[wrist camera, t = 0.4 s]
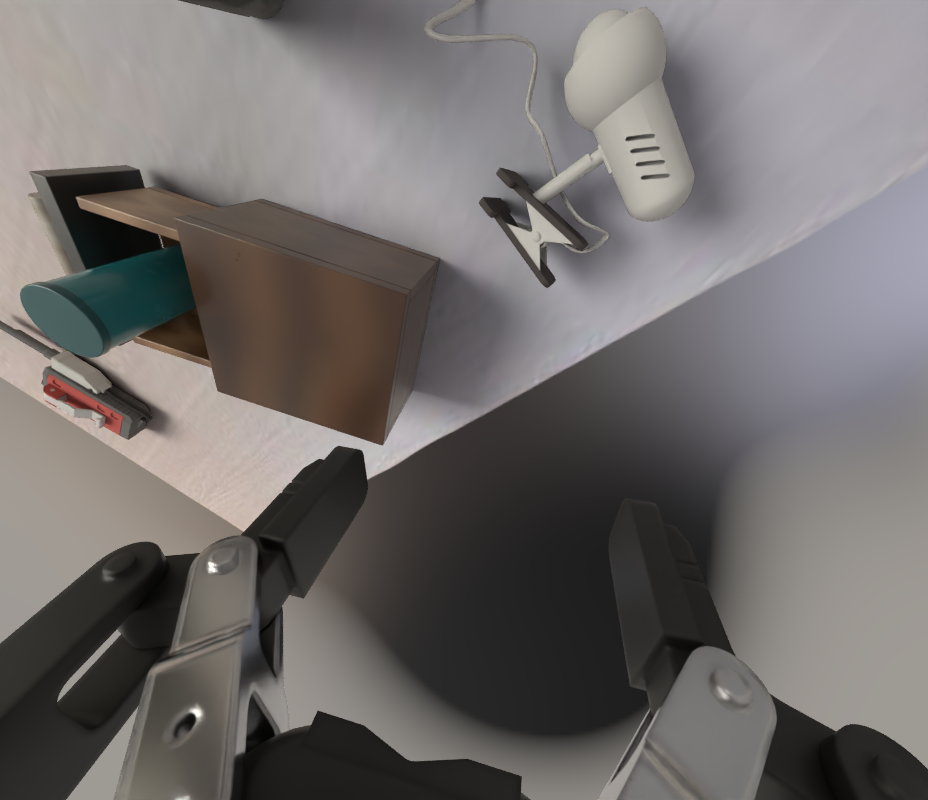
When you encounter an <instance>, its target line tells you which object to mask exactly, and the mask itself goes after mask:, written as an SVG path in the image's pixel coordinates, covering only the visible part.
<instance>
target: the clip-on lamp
mask: <svg viewBox="0 0 928 800" xmlns="http://www.w3.org/2000/svg"><path fill="white" fill-rule="evenodd" d="M476 1H477V0H462V1H461V2H460V3H459V4H457V5H455V6H454V7H452V8H450V9H448V10H447V11H445V12H443V13H441V14H439V15H437V16H435V17H434V18H432V19H431V20H429V21H428V22H427V24H426V27H425V31H426V33H427V34H428V36H429V37H431V38H433V39H436V40H438V41H443V42H451V43H462V42H481V41H500V40H511V41H517V42H523V43H525V44H526V45H527V46H528V47H529V48H531V51H532V54H533V58H534V59H533V71H532V75H531V80H530V85H529V89H528V94H527V99H526V114H527V117H528V120H529V122H530V123H531V124H532V126H533V127H534V128H535V129H536V131H537V133H538V134H539V136H540V139H541V141H542V143H543V147H544V150H545V153H546V156H547V160H548V163H549V166H550V169H551V172H552V175H553V178H554V179H552V180H551V181H550V182H548V183H547V184H546V185H544V186H543V187H542V188H540V189H539V190H537V191H536V192H534V191H533V190H532V189H530V188H529V187H528V184H527V182H526V181H525V180H524V179H523V178H522V177H521V176H520V175H519V174H518V173H516V172H514V171H510V170H507V169H503V168H500V169H499V170H498V171H497V173H496V174H497V176H498V177H499V178H500V179H501V180H502V181H503V182H504V183H505V184H506V185H507V186H508V187H510V188H513V189H514V190H515V191H516V192H517V193H518V194H519V195H520V196H521V197H523V198H524V199H525V200H526V203H527V207H528V212H529V216H530V221H531V225H532V228H531V227H529V226H526V225H523V224H520V223H517V222H515V220H514V219H513V217H512V216H511V214H510V213H511V210H510V209H509V208H508V206H507V205H506V204H505V203H504V201H503V200H502V199H501V198H490V197H483V198H482V199H481V200H480V202H479V204H480V205H481V207H482V208H483V209H484V211H485V212H486V213H487V214H488V215H489V216H490V217H491V218H493V217H494V218H495V219H496V221H497V222H498V223H499V225H500V226H501V228H502V229H503V230H504V232H505V233H506V235H507V236H508V237H509V239H510V240H511V242H512V243H513V244H514V246H515V247H516V249H517V250H518V251H519V253H520V254H521V256H522V257H523V258H524V260H525V261H526V263H527V264H528V265H529V267H530V268H531V270H532V271H533V272H534V274H535V275H536V277H537V278H538V279H539V281H540V282H541V283H542V284H543V286H545V287H546V288H548V287H549V286H551V285H552V284H553V283H554V282H555V277H554V275H553V274H552V273H551V271H550V270H549V268H548V267H547V246H548V245H549V244H550V242H556V243H562V244H563V245H564V246H565V247H567V248H568V249H570V250H572V251H574V252H576V253H587V252H590V251H592V250H595V249H596V248H598V247H599V246H601V245H602V244H603V243H605V241H606V240H607V239H608V237H609V234H608V232H607V231H605V230H604V229H602V228H600V227H597V226H595V225H592V224H590V223H588V222H586V221H585V220H583V219H582V218H581V217H580V216H579V215H578V214H577V213H576V212H575V210H574V209H573V207H572V206H571V204H570V202H569V201H568V199H567V197H566V195H565V193H564V191H563V190H564V189H566V188H567V187H568V186H570V185H571V184H573V183H574V182H576V181H577V180H578V179H580V178H581V177H583V176H584V175H585V174H587V173H589V172H590V171H592V170H593V169H595V168H596V167H597V166H599V165H600V164H602V163H603V162H604V163H605V165H606V167H607V170H608V172H609V174H612V176H613V178H614V180H615V183H616V185H617V187H618V189H619V192H620V194H621V196H622V198H623V201H624V203H625V205H626V208H627V210H628V212H629V214H630V215H631V216H632V217H634V218H636V219H638V220H641V221H657V220H660V219H663V218H666V217H668V216H669V215H671V214H673V213H674V212H675V211H676V210H678V209H679V208H680V207H681V206H682V205H683V203H684V202H685V201H686V199H687V198H688V196H689V194H690V192H691V190H692V187H693V184H694V178H695V174H694V171H693V168H692V165H691V162H690V159H689V156H688V154H687V151H686V148H685V145H684V142H683V139H682V136H681V134H680V131H679V128H678V125H677V122H676V119H675V116H674V114H673V111H672V108H671V105H670V102H669V99H668V96H667V93H666V91H665V88H664V85H663V82H662V76H663V73H664V69H665V64H666V55H667V47H666V39H665V35H664V31H663V28H662V26H661V24H660V22H659V20H658V18H657V17H656V15H655V14H654V13H653V12H652V11H651V10H650V9H648V8H647V7H646V8H639V9H637V10H635V11H632V12H630V13H628V12H627V11H624V10H620V9H613V10H608V11H605V12H603V13H601V14H600V15H598V16H597V17H596V18H594V19H593V20H592V21H591V22H590V23H589V24H588V26H587V27H586V28H585V30H584V31H583V33H582V35H581V37H580V39H579V41H578V43H577V46H576V49H575V53H574V62H573V67H572V68H571V69H570V71H569V72H568V74H567V77H566V79H565V81H564V89H565V99H566V104H567V107H568V110H569V112H570V114H571V116H572V118H573V119H574V120H575V121H576V123H578V124H579V125H580V126H581V127H583V128H584V129H586V130H589V131H592V132H594V135H595V137H596V139H597V141H598V144H599V145H597V147H598V150H596V151H595V152H593V153H592V154H591V155H589V153H587V154H586V155H585V156H583V157H582V158H581V159H579V160H578V161H576V162H575V163H574V164H572V165H571V166H570V167H568V168H567V169H566V170H564V171H563V172H562V173H560V174H559V175H558V176H557V173H556V171H555V167H554V164H553V161H552V158H551V154H550V151H549V147H548V144H547V141H546V138H545V136H544V133H543V131H542V129H541V128H540V126H539V125H538V123H537V122H536V121H535V119H534V118H533V117H532V115H531V113H530V105H531V99H532V94H533V89H534V84H535V79H536V73H537V60H538V57H537V52H536V48H535V46H534V45H533V44H532V43H531V42H530V41H529V40H528V39H527V38H524V37H520V36H517V35H511V34H488V35H468V36H452V35H442V34H439V33H436V32H434V31H433V28H434V27H435V26H437V25H439V24H441V23H442V22H445V21H447V20H449V19H451V18H453V17H455V16H457V15H459V14H461V13H462V12H464V11H466V10H467V9H468V8H469V7H471V6H472V5H473V4H474V3H475V2H476ZM559 193H560V194H561V196H562V198H563V200H564V202H565V204H566V206H567V207H568V209H569V211H570V212H571V214H572V215H573V216H574V218H575V219H576V220H577V221H578V222H579V223H580V224H582V225H583V226H585V227H587V228H590V229H593V230H597V231H600V232H602V233H603V237H602V239H601V240H600V241H599V242H597V243H596V244H595V245H593V246H592V247H589V248H587V249H585V248H586V247H587V246H588V245H589V244H588V242H587V241H586V240H585V239H584V238H583V237H582V236H581V235H580V234H579V233H578V232H577V231H576V230H575V229H574V228H573V227H571V226H570V225H569V224H568V223H567V222H566V221H565V220H564V219H563V218H562V217H561V216H560V215H559V214H557V213H556V212H555V211H554V210H553V209H552V208H551V207H550V206H549V205H548V204H547V203H546V202H547V201H549V200H550V199H552V198H553V197H554V196H556V195H557V194H559ZM569 244H573V245H574V246H575V247H577V248H578V249H576V248H574V247H572V246H571V245H569Z"/></svg>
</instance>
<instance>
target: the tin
mask: <svg viewBox="0 0 928 800" xmlns="http://www.w3.org/2000/svg"><path fill="white" fill-rule="evenodd" d="M20 298H21V302H22V305H23V307H24V309H25V311H26V312H27V314H28V315H29V317H30V318H31V319H32V321H33V322H34V323H35V324H36V325H37V326H38V327H39V329H40V330H41V331H43V332H44V333H45V334H46V335H47V336H48V337H49V338H51V339H52V340H53V341H54V342H56V343H57V344H59V345H60V346H62V347H63V348H65V349H67V350H69V351H71V352H73V353H75V354H77V355H80V356H84V357H89V358H94V357H99V356H101V355H103V354H105V353H107V352H108V351H109V350H110V349H112V348H114V347H116V346H118V345H120V344H122V343H124V342H126V341H128V340H130V339H133V338H135V337H137V336H139V335H141V334H143V333H145V332H147V331H149V330H151V329H153V328H155V327H157V326H160V325H162V324H164V323H166V322H168V321H170V320H172V319H174V318H176V317H178V316H180V315H182V314H185V313H187V312H189V311H191V310H193V309H195V308H196V304H195V300H194V296H193V292H192V288H191V284H190V280H189V276H188V272H187V268H186V264H185V260H184V256H183V252H182V248H181V244H176V245H173V246H169V247H166V248H162V249H159V250H155V251H152V252H148V253H145V254H141V255H138V256H134V257H131V258H127V259H124V260H120V261H117V262H113V263H110V264H106V265H102V266H99V267H95V268H92V269H88V270H85V271H81V272H78V273H74V274H71V275H67V276H64V277H60V278H57V279H53V280H50V281H46V282H36V283H32V284H29V285H26V286H24V287H23V288H22V290H21V293H20Z"/></svg>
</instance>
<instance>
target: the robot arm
mask: <svg viewBox="0 0 928 800" xmlns="http://www.w3.org/2000/svg"><path fill="white" fill-rule="evenodd" d="M367 490H368V483H367V476H366V469H365V462H364V455H363V452H362V451H361V450H359V449H353V448H347V447H342V446H337V447H336V448H334V449H333V451H332V452H331V453H330V454H329V455H328V456H327V457H326V458H325V460H322V459H318V460H316V461H315V462H313V463H311V464H310V465H308V466H306V467H305V468H303V469H302V470H301V471H300V473H299V474H298V475H297V476H296V477H295V478H294V479H293V480H292V483H289V484H288V485H287V486H286V488H285V489H284V490H283V492H282V493H280V494H279V495H278V496H277V497H276V498H275V499H274V500H273V501H272V503H271V504H270V505H269V506H268V507H267V508H266V509H265V510H264V511H263V512H262V513H261V514H260V515H259V516H258V518H257V519H256V520H255V521H254V522H253V523H252V524H251V525H250V526H249V527H248V528H247V529H246V530H245V531H244V532H243V533H242V534H241V535H239V536H231V537H227V538H224V539H221V540H219V541H217V542H215V543H213V544H211V545H210V546H208V547H207V548H206V549H204V550H203V551H202V552H201V553H195V554H184V555H173V556H164V554H163V552H162V551H161V549H160V548H159V547H158V545H156V544H154V543H151V542H138V543H133V544H130V545H127V546H124V547H122V548H119V549H117V550H115V551H113V552H112V553H110V554H108V555H107V556H105V557H104V558H102V559H101V560H100V561H98V562H97V563H96V564H95V565H93V566H92V567H91V568H90V569H89V570H88V571H86V572H85V573H84V574H83V575H81V576H80V577H79V578H78V579H77V580H75V581H74V582H73V583H72V584H71V585H70V586H68V587H67V588H66V589H65V590H64V591H62V592H61V593H60V594H59V595H58V596H57V597H55V598H54V599H53V600H52V601H51V602H49V603H48V604H47V605H46V606H45V607H43V608H42V609H41V610H40V611H39V612H37V613H36V614H35V615H34V616H33V617H31V618H30V619H29V620H28V621H27V622H26V623H24V625H22V626H21V627H20V628H19V629H17V630H16V631H15V632H14V633H12V634H11V635H10V636H9V637H8V638H7V639H5V640H4V641H3V642H2V643H1V644H0V800H66V799H67V798H68V796H69V795H70V794H71V792H72V791H73V790H74V789H75V787H76V786H77V785H78V783H79V782H80V781H81V780H82V778H83V777H84V776H85V774H86V773H87V772H88V770H89V769H90V768H91V766H92V765H93V764H94V763H95V761H96V760H97V759H98V757H99V756H100V755H101V754H102V752H103V751H104V750H105V748H106V747H107V746H108V745H109V743H110V742H111V741H112V739H113V738H114V737H115V735H116V734H117V733H118V732H119V730H120V729H121V727H122V726H123V725H124V724H125V722H126V721H127V720H128V719H129V717H130V716H131V715H132V713H133V712H134V711H135V709H136V708H137V707H138V706H139V707H138V711H137V714H136V718H135V722H134V725H133V729H132V733H131V736H130V740H129V745H128V748H127V752H126V755H125V759H124V762H123V766H122V770H121V774H120V777H119V781H118V785H117V788H116V792H115V796H114V799H113V800H530V799H529V798H528V797H526V796H525V795H524V794H523V793H521V778H522V777H521V776H519V775H516V774H513V773H509V772H506V771H503V770H500V769H497V768H494V767H491V766H488V765H485V764H481V763H478V762H475V761H472V760H469V759H458V760H437V761H418V762H415V761H409V760H407V759H405V758H404V757H403V756H401V755H400V754H399V753H398V752H396V751H395V750H394V749H393V748H391V747H390V746H389V745H388V744H386V743H385V742H384V741H383V740H381V739H380V738H379V737H378V736H376V735H375V734H374V733H373V732H371V731H370V730H369V729H368V728H366V727H365V726H363V725H361V724H357V723H354V722H351V721H348V720H345V719H342V718H339V717H336V716H333V715H330V714H327V713H323V712H320V711H317V714H316V716H315V718H314V720H313V723H312V725H310V726H304V727H299V728H295V729H292V730H290V728H289V714H288V705H287V700H286V695H285V690H284V677H283V611H282V605H283V603H284V602H285V600H286V599H287V597H288V596H289V595H292V596H296V597H300V598H304V597H305V596H306V594H307V592H308V591H309V589H310V588H311V586H312V585H313V583H314V581H315V580H316V578H317V577H318V575H319V573H320V572H321V570H322V569H323V567H324V565H325V564H326V562H327V561H328V559H329V557H330V556H331V554H332V553H333V551H334V549H335V548H336V546H337V545H338V543H339V541H340V540H341V538H342V537H343V535H344V534H345V532H346V530H347V529H348V527H349V526H350V524H351V522H352V521H353V519H354V518H355V516H356V514H357V513H358V511H359V509H360V508H361V506H362V504H363V503H364V501H365V498H366V495H367ZM609 558H610V564H611V570H612V576H613V583H614V589H615V595H616V601H617V607H618V614H619V620H620V626H621V632H622V638H623V645H624V651H625V656H626V663H627V669H628V676H629V681H630V686H631V687H634V688H638V689H642V690H646V691H647V695H648V700H649V705H650V710H649V711H648V712H647V714H646V716H645V718H644V719H643V721H642V723H641V724H640V726H639V728H638V730H637V732H636V734H635V735H634V737H633V739H632V741H631V742H630V744H629V746H628V748H627V749H626V751H625V753H624V755H623V757H622V759H621V760H620V762H619V764H618V766H617V767H616V769H615V771H614V773H613V775H612V776H611V778H610V780H609V782H608V784H607V785H606V787H605V789H604V790H603V792H602V793H601V795H600V796H599V798H598V799H597V800H928V769H927V768H926V767H925V766H924V765H923V764H922V763H921V762H920V761H919V760H918V759H917V758H916V757H914V756H913V755H912V754H911V753H910V752H908V751H907V750H906V749H905V748H903V747H902V746H901V745H899V744H898V743H896V742H895V741H894V740H892V739H890V738H889V737H887V736H886V735H884V734H882V733H880V732H878V731H876V730H874V729H871V728H869V727H866V726H862V725H856V724H850V725H846V726H844V727H842V728H841V729H839V730H838V731H834V730H832V729H830V728H829V727H827V726H825V725H823V724H821V723H819V722H817V721H816V720H814V719H812V718H810V717H809V716H807V715H805V714H803V713H801V712H799V711H798V710H796V709H794V708H792V707H790V706H788V705H787V704H785V703H783V702H782V701H780V700H778V699H777V698H775V697H774V696H773V695H771V694H769V692H768V690H767V689H766V687H765V686H764V684H763V683H762V681H761V680H760V679H759V678H758V676H757V675H756V674H755V673H754V672H753V671H752V670H751V669H750V668H749V667H748V666H747V665H746V664H745V663H743V662H742V661H741V660H739V659H738V658H737V657H736V656H735V654H734V652H733V650H732V648H731V645H730V643H729V640H728V638H727V635H726V633H725V630H724V628H723V625H722V623H721V620H720V618H719V616H718V613H717V611H716V608H715V606H714V603H713V600H712V598H711V596H710V593H709V591H708V588H707V586H706V584H705V583H704V578H703V576H702V573H701V571H700V568H699V567H697V561H696V558H695V556H694V553H693V551H692V549H691V546H690V544H689V542H688V541H687V540H686V539H685V538H684V536H683V535H682V534H681V533H680V532H679V531H678V529H677V528H676V527H675V526H671V525H666V524H663V522H662V519H661V516H660V513H659V510H658V507H657V505H656V504H655V503H653V502H647V501H642V500H636V499H630V498H625V499H624V500H623V502H622V504H621V507H620V509H619V512H618V515H617V517H616V520H615V523H614V525H613V528H612V531H611V534H610V539H609ZM116 630H118V631H119V632H120V633H121V635H120V636H119V637H118V639H117V640H116V641H115V642H114V643H113V644H112V645H111V646H110V647H109V648H108V649H107V650H106V651H105V652H104V653H103V654H102V656H101V657H100V658H99V659H98V660H97V661H96V662H95V663H94V664H93V665H92V666H91V667H90V668H89V669H88V671H87V672H86V673H85V674H84V675H83V676H82V677H81V678H80V679H79V680H78V681H77V682H76V683H75V684H74V685H73V686H72V688H71V689H70V690H69V691H68V692H67V693H66V694H65V695H64V696H63V697H62V698H61V699H60V700H59V701H58V702H57V699H58V696H59V693H60V691H61V690H62V688H63V686H64V685H65V684H66V682H67V681H68V680H69V679H70V677H72V675H73V674H74V673H75V672H76V671H77V670H78V669H79V668H80V667H81V666H82V665H83V664H84V663H85V662H86V661H87V660H88V659H89V658H90V657H91V656H92V655H93V654H94V653H95V651H96V650H97V649H98V648H99V647H100V646H101V645H102V644H103V643H104V642H105V641H106V640H107V639H108V638H109V637H110V636H111V635H112V634H113V633H114V632H115V631H116Z"/></svg>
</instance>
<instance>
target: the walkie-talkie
mask: <svg viewBox="0 0 928 800" xmlns="http://www.w3.org/2000/svg"><path fill="white" fill-rule="evenodd" d="M0 329H1V330H3V331H5V332H6V333H8V334H10V335H12V336H13V337H15V338H17V339H18V340H20V341H22V342H23V343H25V344H27V345H28V346H30V347H32V348H33V349H35V350H37V351H39V352H40V353H42V354H43V355H44V356H45V357H46V358H48V359H50V360H51V366H48V367H45V368H44V369H43V380H42V384H43V385H44V388H43V391H44V399H45V401H46V402H48V403H49V404H51V405H53V406H55V407H58V408H59V409H60V410H62V411H64V412H66V413H67V414H69V415H71V416H73V417H78V418H88V419H91V420H93V421H95V426H97V427H98V428H101V427H103V426H104V427H106V428H107V429H109V430H111V431H113V432H115V433H116V434H118V435H120V436H122V437H124V438H126V439H128V440H129V439H130V438H132V437H133V436H135V435H136V434H137V433H139V432H140V431H142V430H143V429H144V428H145V426H146V422H148V421H149V420H151V419H152V416H151V414H150V413H149V409H148V408H147V407H146V405H145V404H143V403H141V402H140V401H138V400H136V399H135V398H133V397H131V396H130V395H128V394H126V393H125V392H123V391H121V390H120V389H118V388H116V387H115V386H113V385H112V383H111V382H110V381H109V380H108V379H107V378H106V377H105V376H104V375H103V374H102V373H101V372H100V371H99V370H97V369H96V368H94V367H92V366H91V365H89V364H87V363H86V362H84V361H83V360H81V359H79V358H78V357H76V356H75V355H74V354H72V353H71V352H69V351H64V352H62V353H60V352H58V351H57V350H55V349H51V348H49V347H48V346H46V345H44V344H43V343H41V342H39V341H38V340H36V339H34V338H33V337H31V336H29V335H28V334H26V333H24V332H23V331H21V330H15V329H13V328H12V327H10V326H8V325H6V324H5V323H3V322H1V321H0Z"/></svg>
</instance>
